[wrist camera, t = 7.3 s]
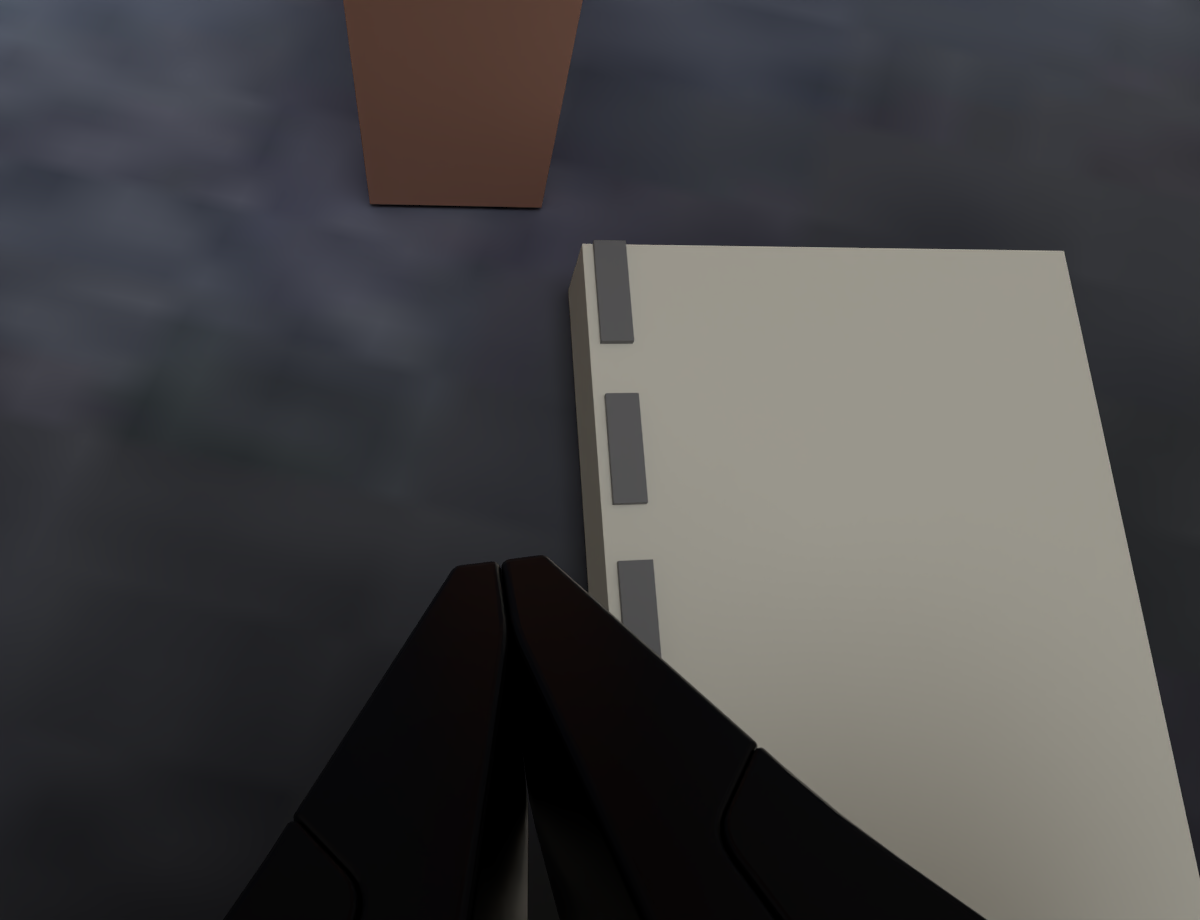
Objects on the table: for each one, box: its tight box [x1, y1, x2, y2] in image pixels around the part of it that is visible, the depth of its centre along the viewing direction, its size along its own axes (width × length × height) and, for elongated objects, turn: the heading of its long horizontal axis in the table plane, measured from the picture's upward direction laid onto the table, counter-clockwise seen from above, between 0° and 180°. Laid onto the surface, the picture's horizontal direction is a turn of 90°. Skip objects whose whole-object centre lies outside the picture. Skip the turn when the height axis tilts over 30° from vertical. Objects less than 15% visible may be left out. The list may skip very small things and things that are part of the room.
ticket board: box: [568, 240, 1200, 920], centre depth 18 cm, size 14×10×2 cm
